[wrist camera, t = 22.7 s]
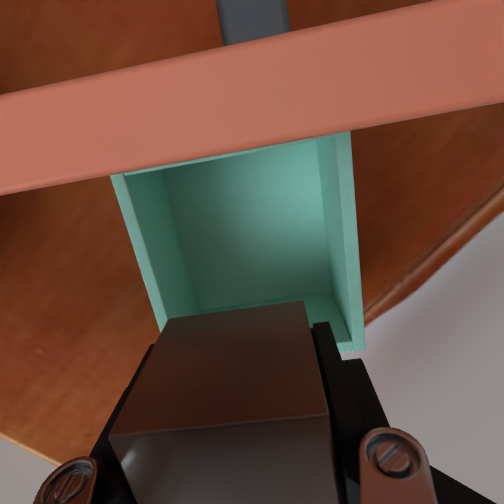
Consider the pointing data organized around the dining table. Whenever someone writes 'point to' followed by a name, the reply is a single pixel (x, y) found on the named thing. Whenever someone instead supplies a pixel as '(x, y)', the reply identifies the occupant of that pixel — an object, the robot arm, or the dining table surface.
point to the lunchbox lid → (255, 90)
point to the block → (230, 413)
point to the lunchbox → (251, 233)
